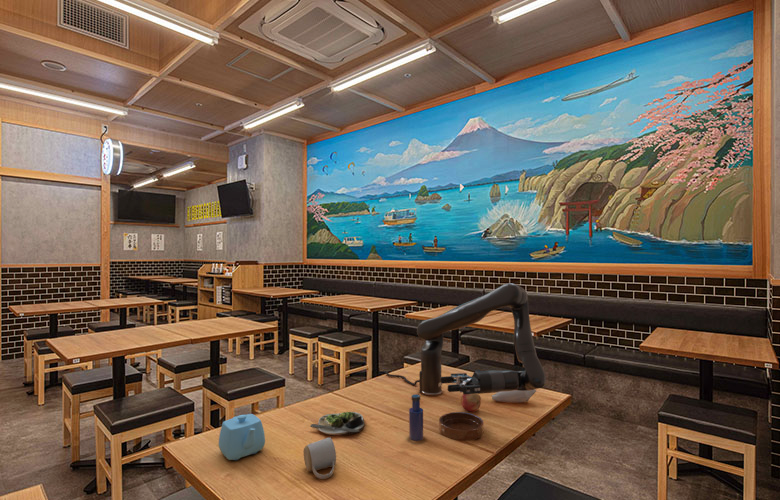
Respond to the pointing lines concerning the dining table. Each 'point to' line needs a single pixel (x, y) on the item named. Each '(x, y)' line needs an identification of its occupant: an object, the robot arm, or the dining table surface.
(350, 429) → the salad plate
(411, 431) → the soy bottle
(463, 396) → the fruit
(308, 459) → the ceramic mug
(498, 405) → the dining table surface
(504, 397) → the seashell
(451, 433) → the bowl
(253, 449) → the teapot
